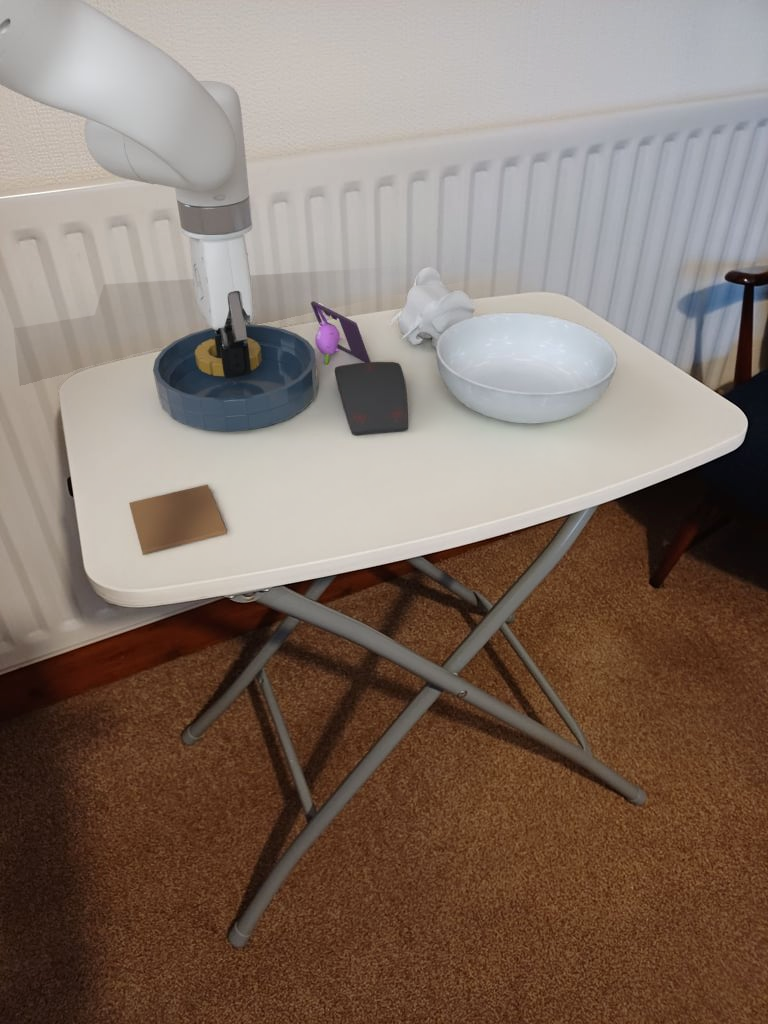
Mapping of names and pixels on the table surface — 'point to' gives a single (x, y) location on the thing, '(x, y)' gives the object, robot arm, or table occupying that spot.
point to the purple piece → (338, 335)
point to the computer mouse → (373, 397)
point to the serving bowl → (525, 366)
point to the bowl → (237, 382)
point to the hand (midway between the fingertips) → (234, 369)
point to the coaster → (176, 519)
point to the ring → (214, 365)
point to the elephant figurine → (431, 308)
